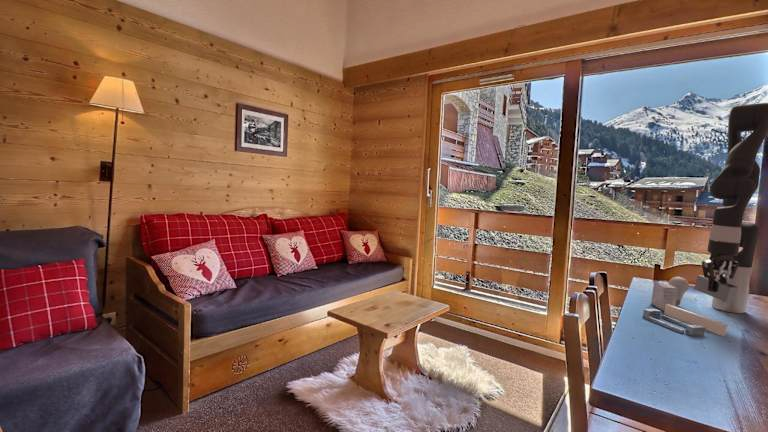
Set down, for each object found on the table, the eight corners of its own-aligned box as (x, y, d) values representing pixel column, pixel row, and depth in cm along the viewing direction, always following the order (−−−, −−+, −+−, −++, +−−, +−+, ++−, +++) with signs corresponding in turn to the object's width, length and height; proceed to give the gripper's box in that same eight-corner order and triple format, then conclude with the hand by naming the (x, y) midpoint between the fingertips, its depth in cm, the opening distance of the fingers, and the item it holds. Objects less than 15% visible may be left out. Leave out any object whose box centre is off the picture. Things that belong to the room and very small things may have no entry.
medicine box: (675, 312, 136) (678, 288, 135) (661, 310, 137) (664, 287, 136) (663, 305, 144) (667, 282, 143) (650, 303, 145) (653, 281, 144)
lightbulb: (681, 304, 147) (686, 276, 146) (688, 309, 141) (693, 280, 140) (663, 301, 149) (667, 274, 148) (669, 306, 143) (673, 277, 142)
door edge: (667, 314, 133) (669, 304, 133) (725, 335, 116) (727, 324, 116) (664, 314, 133) (665, 304, 132) (721, 335, 116) (723, 324, 115)
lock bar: (701, 288, 132) (705, 275, 131) (733, 301, 122) (738, 287, 121) (693, 288, 131) (697, 275, 130) (725, 302, 121) (730, 287, 120)
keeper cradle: (657, 315, 131) (658, 308, 130) (707, 335, 115) (709, 327, 115) (639, 316, 129) (640, 309, 128) (688, 336, 113) (689, 328, 113)
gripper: (727, 237, 129) (719, 287, 131) (696, 237, 125) (688, 288, 127) (753, 241, 122) (744, 294, 124) (721, 241, 118) (713, 295, 120)
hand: (716, 290), depth 126 cm, fingers closed on lock bar, 3 cm apart
